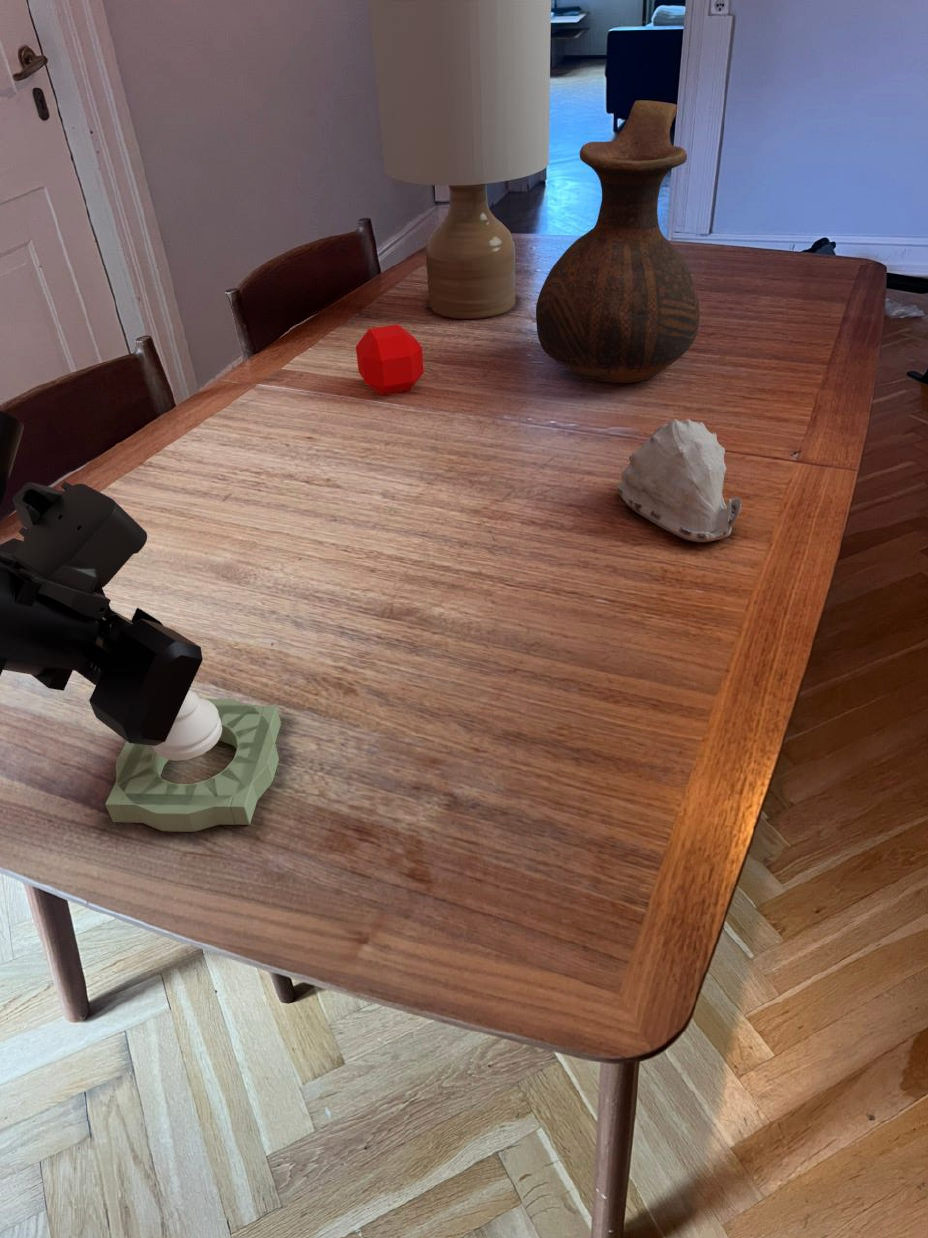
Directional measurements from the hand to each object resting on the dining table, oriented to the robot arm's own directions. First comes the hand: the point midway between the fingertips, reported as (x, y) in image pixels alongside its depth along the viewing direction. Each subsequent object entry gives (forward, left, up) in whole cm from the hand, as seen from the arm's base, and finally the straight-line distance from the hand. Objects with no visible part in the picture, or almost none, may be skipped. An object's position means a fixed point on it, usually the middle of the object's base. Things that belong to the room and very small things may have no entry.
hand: (181, 657), depth 61 cm
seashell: (+40, +36, -11) cm, 55 cm away
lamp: (+14, +98, -11) cm, 100 cm away
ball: (+5, +67, -11) cm, 68 cm away
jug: (+35, +73, -11) cm, 82 cm away
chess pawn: (-1, -1, -7) cm, 7 cm away
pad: (-1, -1, -10) cm, 11 cm away
